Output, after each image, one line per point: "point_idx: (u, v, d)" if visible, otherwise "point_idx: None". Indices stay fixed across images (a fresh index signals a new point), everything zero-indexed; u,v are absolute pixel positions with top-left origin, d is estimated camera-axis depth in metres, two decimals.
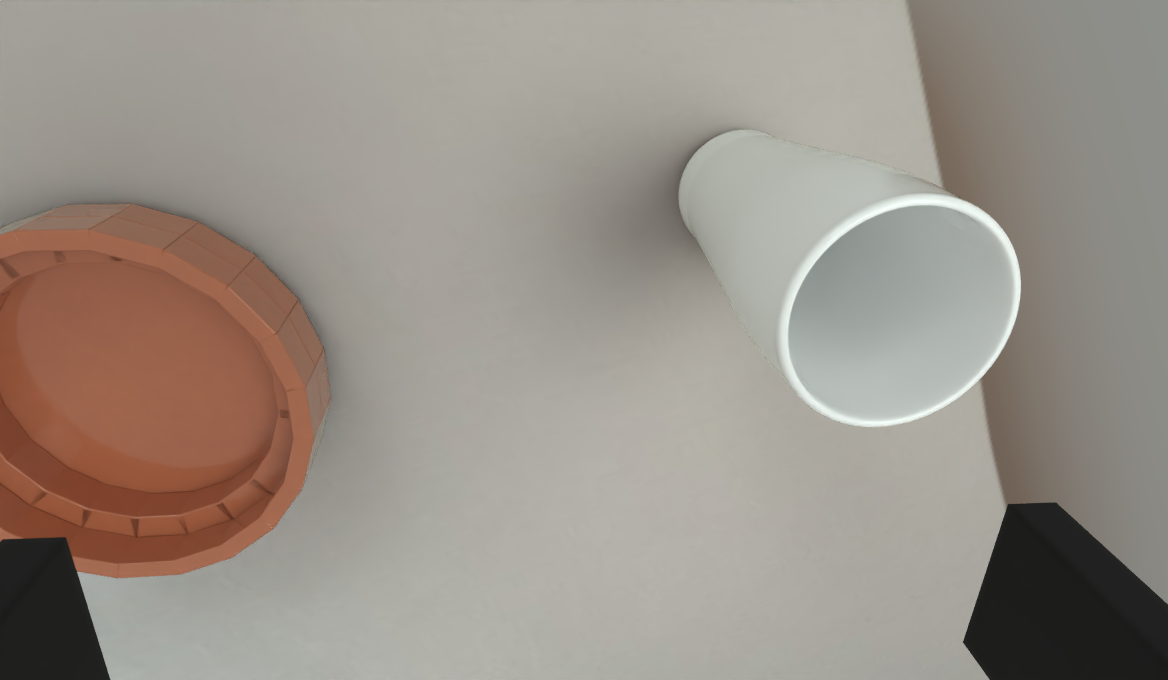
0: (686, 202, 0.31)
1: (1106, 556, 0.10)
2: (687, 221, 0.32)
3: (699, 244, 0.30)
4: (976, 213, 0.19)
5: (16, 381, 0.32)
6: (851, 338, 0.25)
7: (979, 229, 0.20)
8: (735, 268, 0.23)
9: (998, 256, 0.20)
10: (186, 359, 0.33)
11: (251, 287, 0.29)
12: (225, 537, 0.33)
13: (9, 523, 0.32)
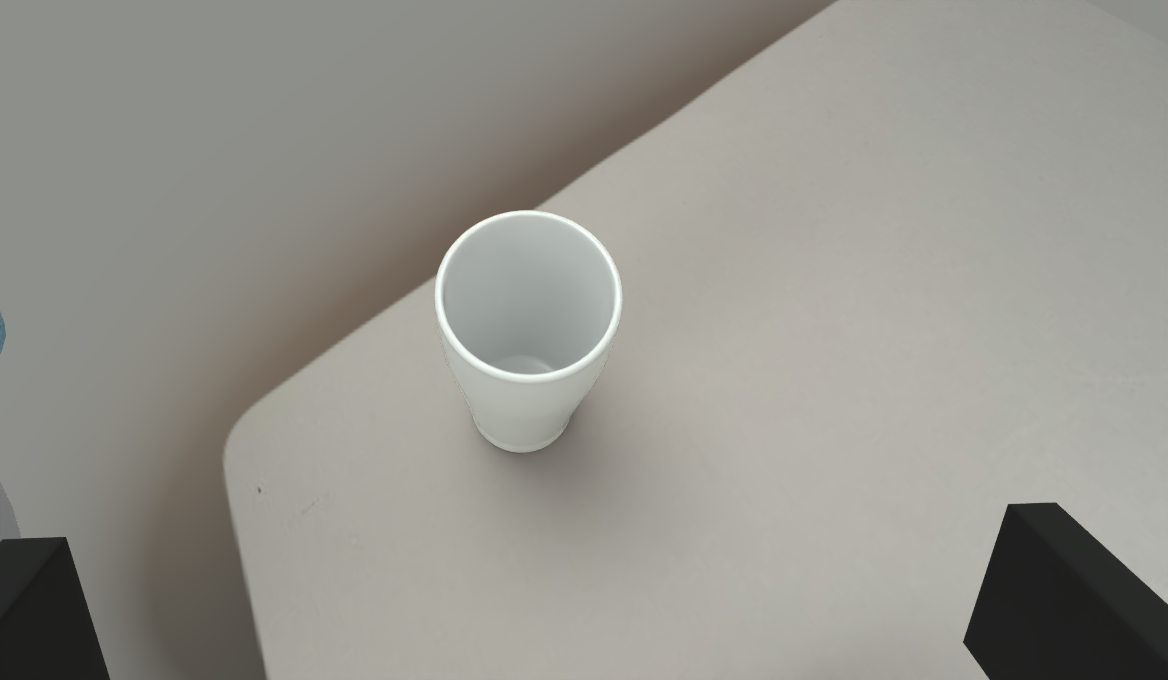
0: (537, 444, 0.37)
1: (1106, 556, 0.10)
2: (553, 437, 0.38)
3: (562, 425, 0.36)
4: (440, 275, 0.26)
5: None
6: (580, 296, 0.32)
7: (454, 263, 0.27)
8: (545, 410, 0.29)
9: (468, 243, 0.27)
10: None
11: None
12: None
13: None
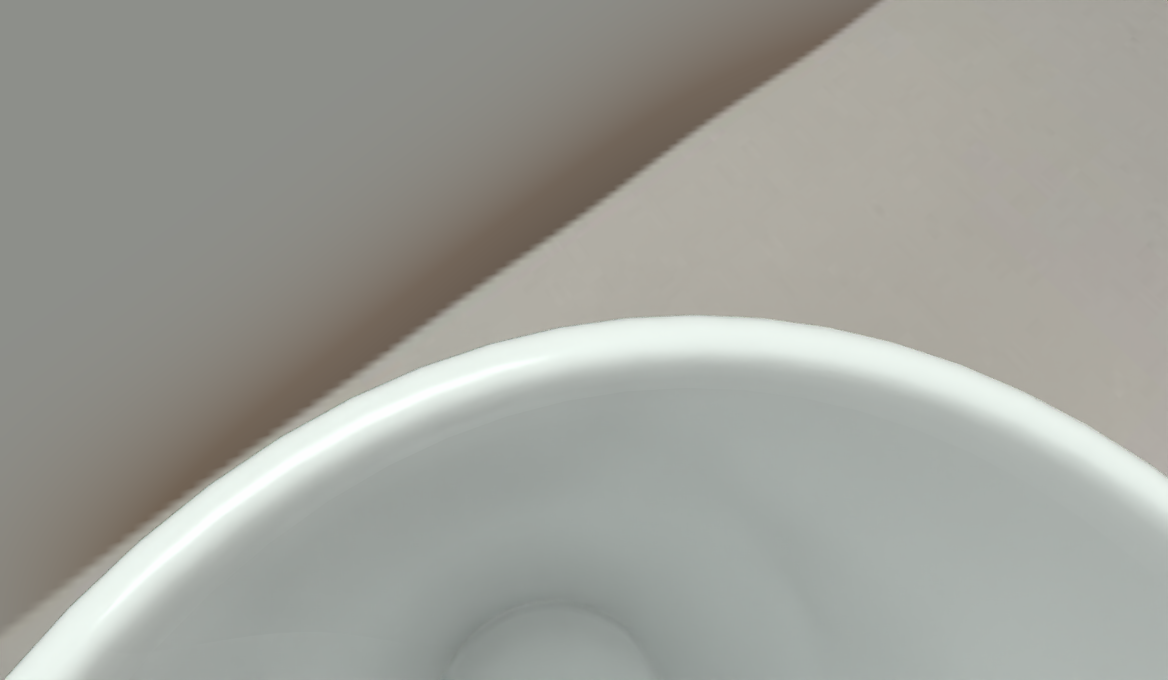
0: None
1: None
2: None
3: None
4: None
5: None
6: (815, 610, 0.08)
7: None
8: None
9: (199, 608, 0.03)
10: None
11: None
12: None
13: None
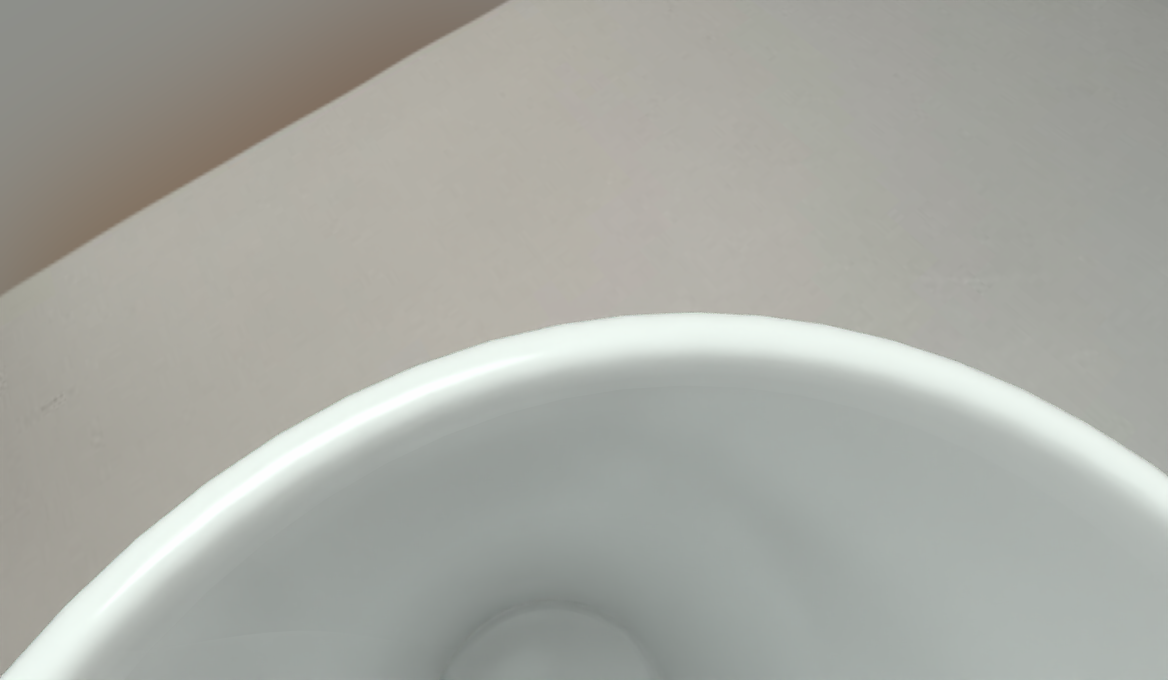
0: None
1: None
2: None
3: None
4: None
5: None
6: (814, 609, 0.08)
7: None
8: None
9: (196, 605, 0.03)
10: None
11: None
12: None
13: None
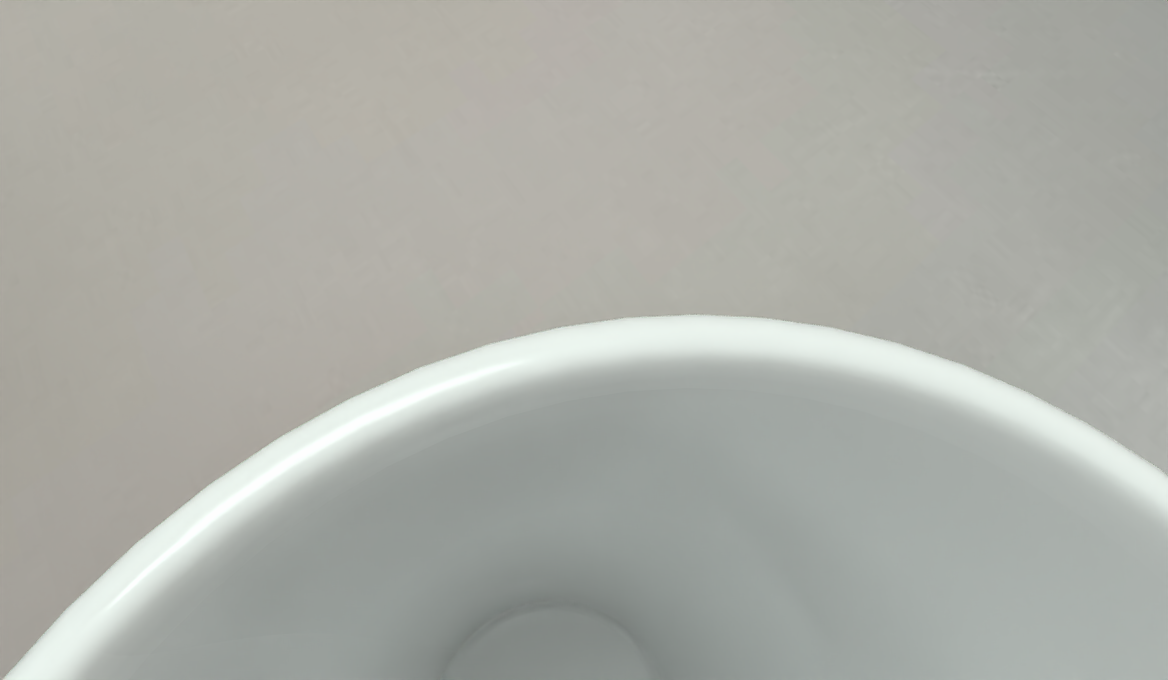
0: None
1: None
2: None
3: None
4: None
5: None
6: (815, 610, 0.08)
7: None
8: None
9: (197, 610, 0.03)
10: None
11: None
12: None
13: None
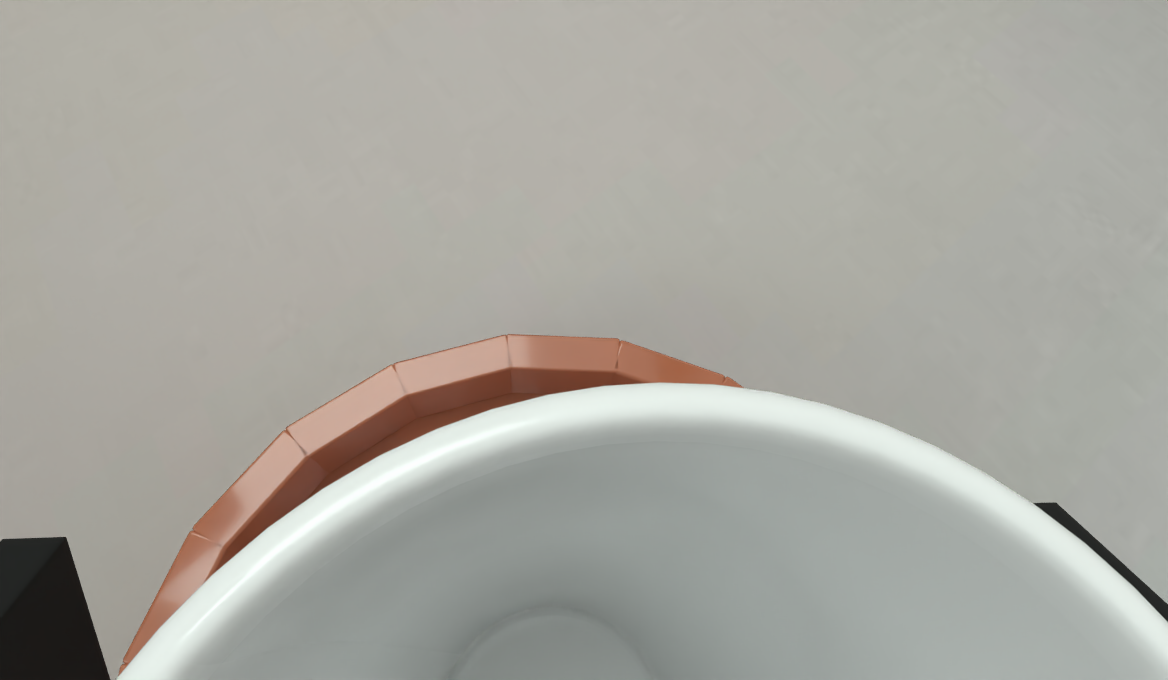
0: None
1: (1106, 556, 0.10)
2: None
3: None
4: None
5: None
6: (788, 619, 0.08)
7: None
8: None
9: (257, 627, 0.04)
10: None
11: None
12: None
13: None
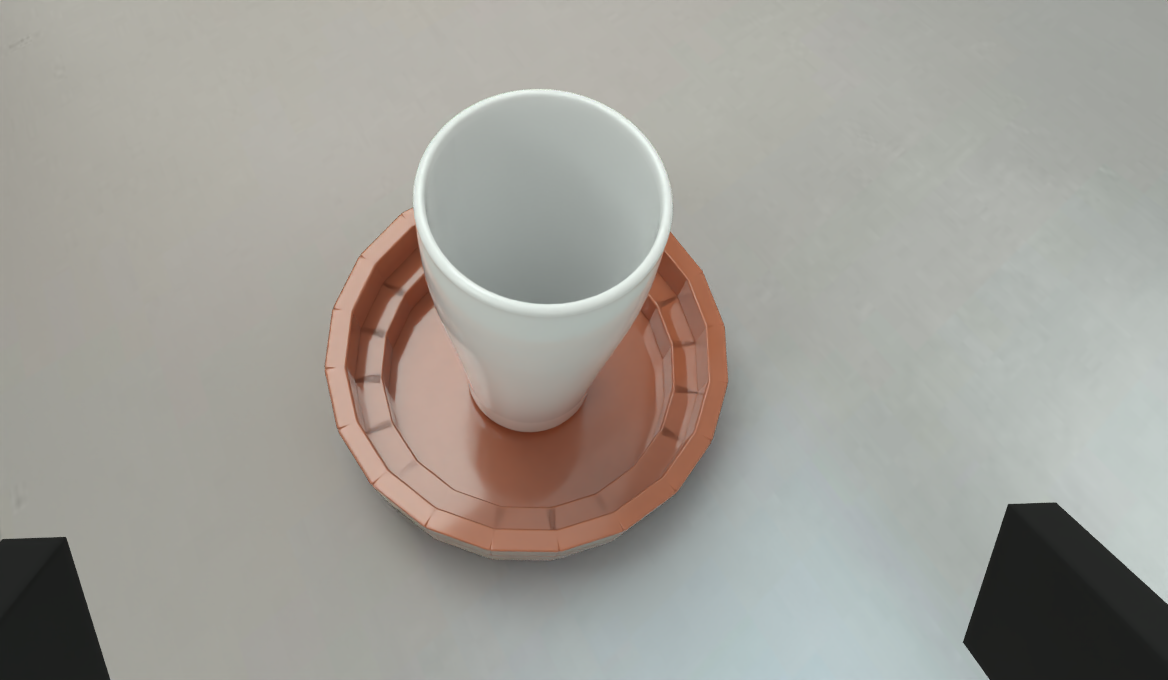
0: (550, 420, 0.30)
1: (1107, 556, 0.10)
2: (569, 412, 0.30)
3: (582, 395, 0.29)
4: (421, 170, 0.19)
5: (561, 489, 0.31)
6: (607, 222, 0.24)
7: (442, 159, 0.20)
8: (565, 364, 0.21)
9: (460, 132, 0.20)
10: None
11: None
12: None
13: (689, 436, 0.29)
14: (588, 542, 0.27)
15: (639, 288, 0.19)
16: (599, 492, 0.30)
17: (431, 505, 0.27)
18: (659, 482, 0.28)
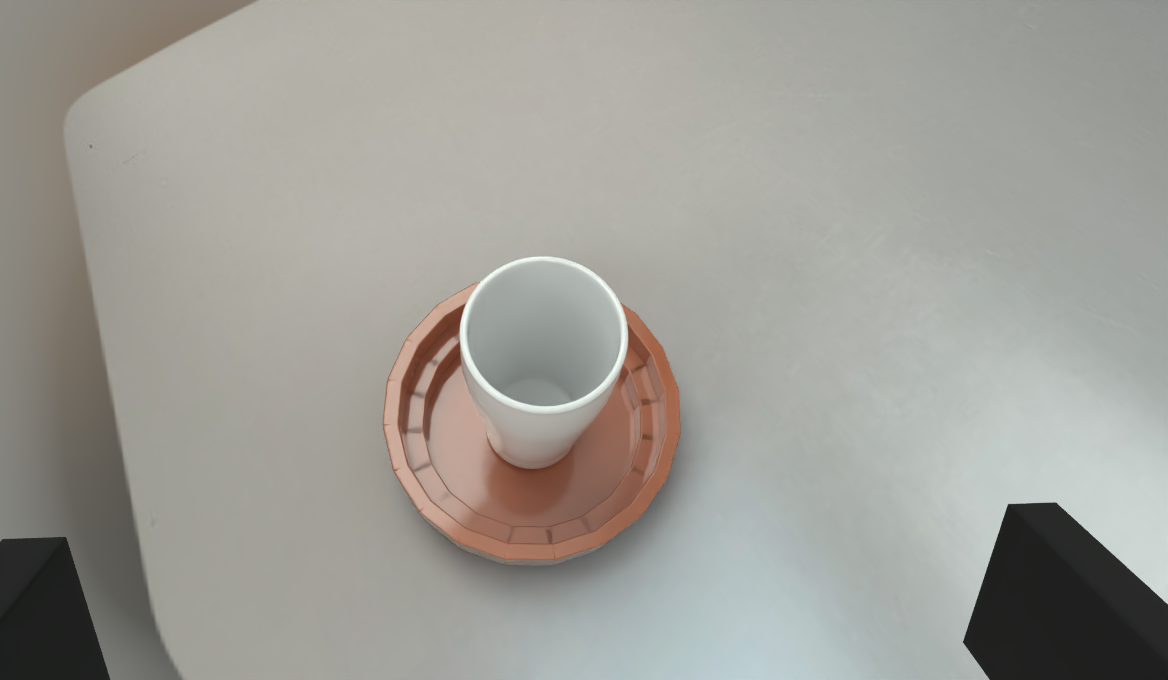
0: (548, 461, 0.40)
1: (1106, 556, 0.10)
2: (562, 455, 0.41)
3: (572, 444, 0.39)
4: (465, 316, 0.29)
5: (556, 512, 0.42)
6: (588, 329, 0.35)
7: (476, 304, 0.30)
8: (558, 435, 0.32)
9: (489, 286, 0.30)
10: None
11: None
12: None
13: (651, 474, 0.40)
14: (576, 553, 0.38)
15: (606, 392, 0.29)
16: (585, 515, 0.40)
17: (462, 526, 0.37)
18: (628, 509, 0.38)
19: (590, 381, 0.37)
